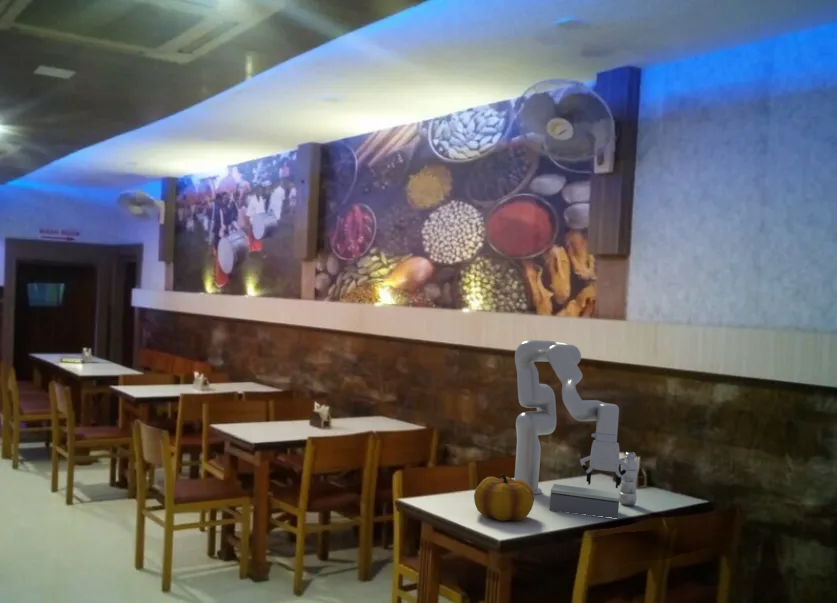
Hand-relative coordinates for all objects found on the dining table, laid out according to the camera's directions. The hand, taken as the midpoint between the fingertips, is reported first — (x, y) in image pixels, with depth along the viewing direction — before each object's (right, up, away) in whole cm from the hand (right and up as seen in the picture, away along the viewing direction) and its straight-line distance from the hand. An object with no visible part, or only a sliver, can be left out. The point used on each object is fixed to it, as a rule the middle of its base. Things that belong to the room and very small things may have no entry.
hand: (602, 485), depth 279 cm
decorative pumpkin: (-37, -8, -12) cm, 40 cm away
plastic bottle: (+14, -12, +19) cm, 26 cm away
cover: (-5, -4, +5) cm, 8 cm away
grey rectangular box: (-6, -10, +5) cm, 13 cm away
